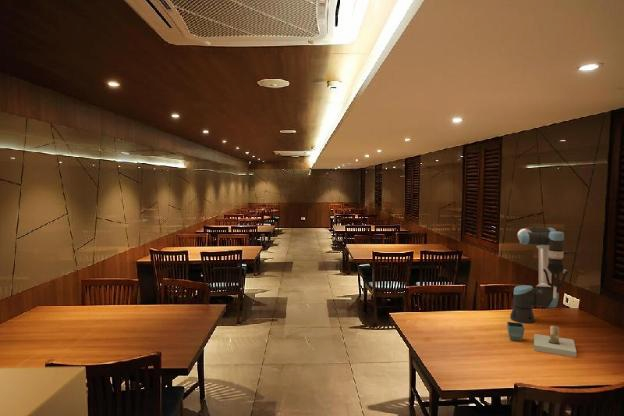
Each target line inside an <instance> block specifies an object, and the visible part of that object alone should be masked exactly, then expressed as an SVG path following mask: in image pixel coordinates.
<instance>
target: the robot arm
mask: <svg viewBox="0 0 624 416" xmlns="http://www.w3.org/2000/svg"><path fill="white" fill-rule="evenodd" d="M517 239H518V240H519V244H521V245H527V246H528V245H533V246H535V247H536V248H537V249H538V250H537V251H538V284H537V285H536V286H535V288H534V287H533V286H532V285H529V284H528V285H527V284H522V285H516V286H515V287H514V288H513V293H512V294H513V304H512V305H513V306H512V310H511V312H510V319H511V320H512V321H513V322H516V323H522V324H532V323H533V324H534V323H535V321H536V317H535V313H534V311H533V307H541V308H543V307H544V308H553V309H554V308H556V307H557V306H558V303H559V297H560V294H559V292H560V291H559V290H560V289H559V288H562V287H563V285H564V283H565V280H566V276H567V274H568V273H569V271H568V270H567V269H565V267H564V244H565V243H564V242H565V233H564V232H563V231H557V230H556V229H555V228H554V227H549V226H548V227H547V226H546V227H545V226H544V227H538V226H528V227H523V228H521V229H519V230H518V231H517ZM561 273H563V274H562V277H561V279H560V274H561ZM555 275H556V281H555ZM555 282H556V284H555ZM554 284H555V285H554Z"/></svg>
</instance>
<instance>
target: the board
mask: <svg viewBox="0 0 624 416" xmlns="http://www.w3.org/2000/svg"><path fill="white" fill-rule="evenodd" d="M533 351H535V352H540V353H541V352H542V353H547V354H548V353H549V354H553V355H559V356H567V357H571V358H577V349H576V345H575V341H574V339H571V338H565V337H559V344H558V345H557V344H551V343H550V335H544V334H539V333H538V334H537V333H534V334H533Z"/></svg>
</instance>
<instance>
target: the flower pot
mask: <svg viewBox="0 0 624 416" xmlns="http://www.w3.org/2000/svg"><path fill="white" fill-rule="evenodd" d="M525 328H526V327H525V325H524V323H521V322H516V321H506V329H507V333H508V336H509V339H510V340H512V341H519V342H520V341H522V339H523V337H524V333H525Z"/></svg>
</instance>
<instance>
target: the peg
mask: <svg viewBox="0 0 624 416" xmlns="http://www.w3.org/2000/svg"><path fill="white" fill-rule="evenodd" d="M549 330H550V331H549V333H550V334H549V336H550V343H551V344H557V345H558V344H559V338H560V327H559V325H558V326H557V325H550V328H549Z"/></svg>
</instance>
